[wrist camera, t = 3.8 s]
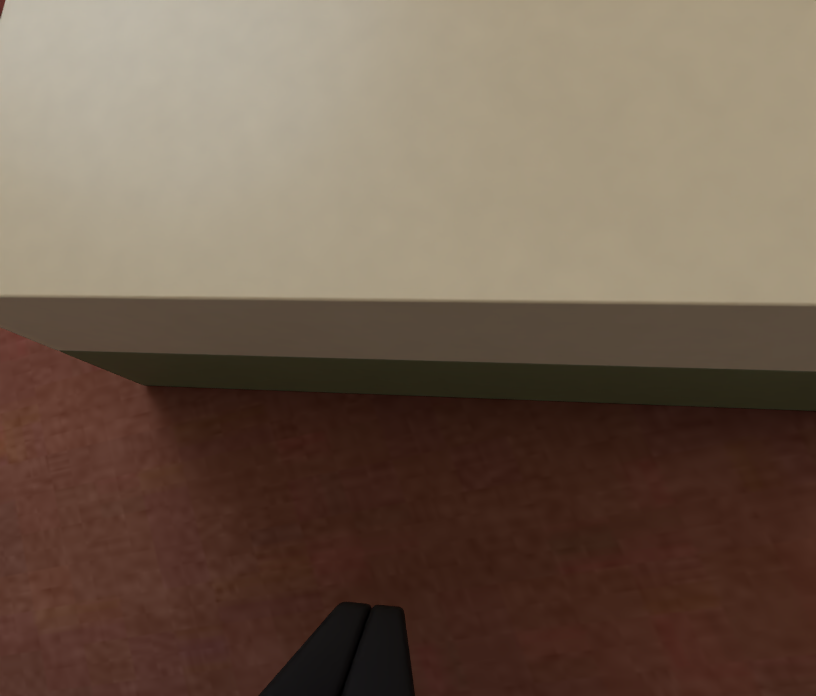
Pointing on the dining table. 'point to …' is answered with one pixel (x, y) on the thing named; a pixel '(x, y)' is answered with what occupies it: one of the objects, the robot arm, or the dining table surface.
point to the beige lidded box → (417, 195)
